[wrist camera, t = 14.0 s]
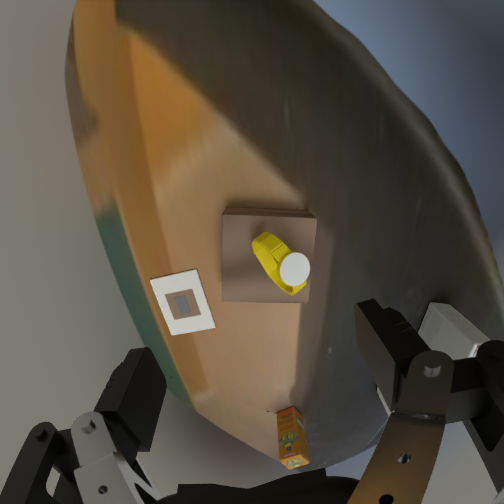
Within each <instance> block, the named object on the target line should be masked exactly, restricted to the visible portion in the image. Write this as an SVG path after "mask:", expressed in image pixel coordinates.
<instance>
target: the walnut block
mask: <svg viewBox="0 0 504 504" xmlns="http://www.w3.org/2000/svg"><path fill="white" fill-rule="evenodd" d="M316 225H317V218H316V217H315V216H314V215H312V214H311V213H310V212H309V211H308V210H289V209H268V208H241V207H226V208H225V210H224V213H223V217H222V301H231V302H262V303H308V299H309V291H310V282H311V274H312V265H313V256H314V246H315V236H316ZM264 232H268V233H271V234H273V235H275V236H276V237H278V238H279V239H280V240H281V241H283V242H284V243H285V244H286V245H287V247H288V248H289V249H290V250H291V251H292V252H298V253H301V254H303V255H305V256H306V258H307V259H308V261H309V264H310V272H309V275H308V277H307V279H306V281H307V283H306V285H305V286H304V287H303V288H302V289H300V290H299V291H298V292H297V293H296V294H294V295H290V294H288V293H286V292H284V291H283V290H282V289H281V288H280V287H278V286H277V284H275V283H274V282H273V280H272V279H271V278H270V277H269V276H268V274H267V273H266V271H265V269H264V268H263V266H262V265H261V263H260V261H259V260H258V258H257V256H256V255H255V254H254V253H253V249H252V242H253V240H254V239H255V238H257V237H258V236H260V235H261V234H262V233H264ZM274 259H275V258H274ZM275 261H276V262H277V260H276V259H275ZM277 264H278V262H277Z"/></svg>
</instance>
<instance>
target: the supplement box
mask: <svg viewBox="0 0 504 504" xmlns="http://www.w3.org/2000/svg"><path fill="white" fill-rule="evenodd" d="M277 428H278V443H279V458H280V461H281V462H282V463H283V464H284V465H285V466H286V467H287V468H288V469H293V468H295V467H298V466H301V465H306V464H308V463H310V461H309V456H308V450H307V444H306V437H305V431H304V425H303V418H302V416H301V414H300V413H299V412H298V411H297V409H296V408H295V407H294V406H293V407H290V408H288V409H285V410H283V411H280V412H278V413H277Z"/></svg>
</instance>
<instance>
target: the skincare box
mask: <svg viewBox="0 0 504 504" xmlns="http://www.w3.org/2000/svg"><path fill="white" fill-rule="evenodd" d="M418 334H419V335H420V336H421V338H422V339H423V340H424V341H425V343H426V344H427V345H428V346H429V348H430V349H431V350H436V351H441V352H444V353H446V354H448V355H449V356H450V357H451V358H452V360H457V359H464V358H469V357H475V356H476V354H477V350H478V348H479V347H480V345H482V344H483V343H485V342H487V341H490V339H489V338H488V337H486V336H485V335H484V334H483V333H482V332H481V331H480V330H479V329H477V328H476V327H475V326H474V325H473V324H472V323H471V322H469V321H468V320H467V319H466V318H465V317H464V316H462V315H461V314H460V313H459V312H458V311H457V310H455V309H454V308H453V307H452V306H451V305H449V304H443V303H433V302H430V304H429V306H428V309H427V312H426V314H425V317H424V319H423V322H422V324H421V327H420V329H419V331H418Z"/></svg>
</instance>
